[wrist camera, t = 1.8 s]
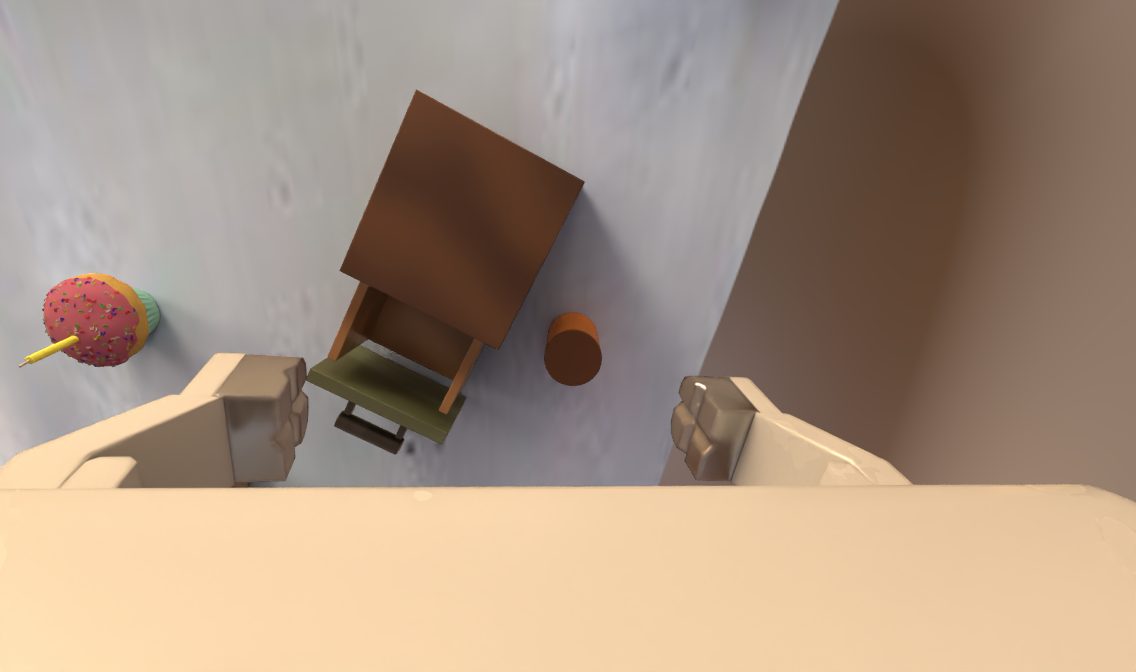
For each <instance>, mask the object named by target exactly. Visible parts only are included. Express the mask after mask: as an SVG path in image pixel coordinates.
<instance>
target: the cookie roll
mask: <svg viewBox="0 0 1136 672" xmlns="http://www.w3.org/2000/svg"><path fill="white" fill-rule="evenodd" d="M544 361H545V366H546V369H547V371H548V373H549V374H550V375H551V377H552V378H553V379H555V380H556V381H558V382H559V383H561V384H564V385H568V386H578V385H582V384H585V383H587V382H589V381H590V380H591V379H593V378H594V377H595V375H596V374H597V373H598V371H599V369H600V366H601V362H602V354H601V349H600V345H599V340H598V335H597V331H596V328H595V326H594V324H593V323H592V321H591V320H590V319H589V318H587V317H586V316H584V315H582V314H578V313H567V314H564V315H561V316H559V317H558V318H557V319H556V320H554V322H553V323H552V324H551V326H550V328H549V331H548V337H547V343H546V349H545V356H544Z"/></svg>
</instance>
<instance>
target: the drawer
mask: <svg viewBox="0 0 1136 672" xmlns="http://www.w3.org/2000/svg"><path fill="white" fill-rule="evenodd" d="M368 339H369V340H371V341H373V342H375V343H378V344H380V345H382V346H384V347H386V348H388V349H390V350H392V351H394V352H396V353H398V354H400V355H402V356H404V357H406V358H408V359H410V360H412V361H414V362H417V363H419V364H421V365H423V366H425V367H427V368H429V369H431V370H433V371H435V372H437V373H439V374H441V375H443V376H445V377H447V378H449V379H451V380H453V382H452V384H451V386H450V388H447V387H445V386H443V385H441V384H439V383H436V382H434V381H432V380H430V379H428V378H426V377H424V376H422V375H420V374H418V373H416V372H414V371H412V370H410V369H408V368H406V367H403V366H401V365H399V364H397V363H395V362H393V361H391V360H389V359H387V358H385V357H383V356H381V355H379V354H377V353H375V352H373V351H370V350H368V349H366V348H364V347H362V346H360V344H362V343H363V342H365V341H366V340H368ZM484 345H485V343H483V342H481V341H479V340H477V339H475V338H473V337H471V336H469V335H467V334H465V333H463V332H461V331H459V330H457V329H455V328H453V327H451V326H449V325H447V324H445V323H443V322H441V321H439V320H437V319H435V318H433V317H431V316H429V315H427V314H425V313H423V312H421V311H419V310H417V309H415V308H413V307H411V306H409V305H407V304H405V303H403V302H401V301H399V300H397V299H395V298H393V297H391V296H389V295H387V294H385V293H383V292H381V291H379V290H377V289H375V288H373V287H371V286H369V285H367V284H365V283H363V282H361V281H360V283H359V285H358V287H357V290H356V292H355V294H354V297H353V299H352V301H351V304H350V306H349V308H348V311H347V313H346V315H345V317H344V320H343V322H342V324H341V327H340V329H339V331H338V334H337V336H336V338H335V341H334V343H333V345H332V347H331V350H330V352H329V354H328V358H326V359H325V360H323V361H322V362H320V363H318V364H317V365H315V366H314V367H312V368H311V369H310V371H309V373H308V376H307V379H306V381H308V382H310V383H313V384H315V385H317V386H319V387H321V388H323V389H325V390H327V391H329V392H332V393H334V394H336V395H338V396H340V397H342V398H344V399H346V400H349V402H348V404H347V406H346V408H345V411H342V412H341V413H340V415H339V416H338V418H337V420H336V422H335V425H334V426H335V427H337V428H339V429H341V430H343V431H345V432H347V433H349V434H352V435H354V436H356V437H358V438H360V439H362V440H365V441H367V442H369V443H371V444H373V445H375V446H377V447H380V448H382V449H384V450H386V451H388V452H390V453H393V454H395V455H396V454H397V453H398V451H399V450H400V448H401V446H402V444H403V442H404V438H403V436H404V434H405V432H406V430H407V428H408V429H410V430H412V431H414V432H416V433H419V434H421V435H423V436H425V437H427V438H429V439H431V440H433V441H436V442H438V443H440V444H443V442H444V440H445V438H446V436H447V435H448V433H449V431H450V429H451V427H452V425H453V423H454V421H455V419H456V417H457V416H458V414H459V412H460V410H461V408H462V406H463V404H464V402H465V400H466V398H467V397H465V396H463V395H461V394H459V393H460V391H461V389H462V388H463V386H464V384H465V382H466V380H467V378H468V376H469V374H470V372H471V370H472V368H473V367H474V365H475V363H476V361H477V359H478V357H479V355H480V353H481V351H482V349H483V347H484ZM356 404H357V405H359V406H361V407H363V408H366V409H368V410H370V411H372V412H374V413H376V414H378V415H380V416H383V417H385V418H387V419H389V420H391V421H393V422H395V423H397V424H399V425H401V426H400V428H399V430H398V432H397V434H396V435H395V434H393V433H391V432H389V431H387V430H385V429H383V428H380V427H378V426H376V425H374V424H372V423H370V422H368V421H366V420H363V419H361V418H359V417H357V416H355V415H353V414H352V412H353V410H354V408H355V405H356Z"/></svg>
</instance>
